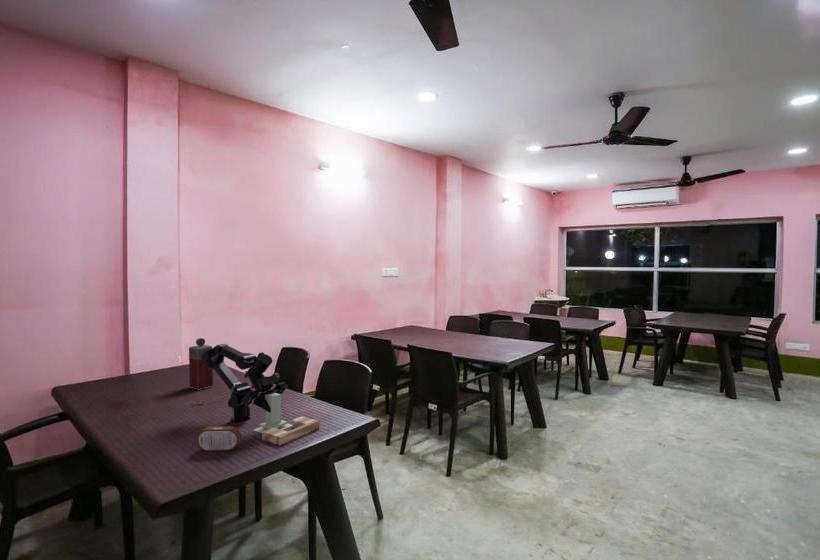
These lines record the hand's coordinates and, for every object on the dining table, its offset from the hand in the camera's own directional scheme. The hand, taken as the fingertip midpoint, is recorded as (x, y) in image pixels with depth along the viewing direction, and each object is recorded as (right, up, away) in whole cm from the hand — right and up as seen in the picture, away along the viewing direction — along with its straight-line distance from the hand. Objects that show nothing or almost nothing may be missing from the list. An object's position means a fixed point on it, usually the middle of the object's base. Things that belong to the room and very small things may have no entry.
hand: (275, 410), depth 169 cm
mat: (-1, -8, +1) cm, 8 cm away
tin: (-14, -9, -19) cm, 25 cm away
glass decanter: (-64, -8, +65) cm, 92 cm away
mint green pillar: (-1, -7, +1) cm, 7 cm away
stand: (+7, -8, -4) cm, 12 cm away
